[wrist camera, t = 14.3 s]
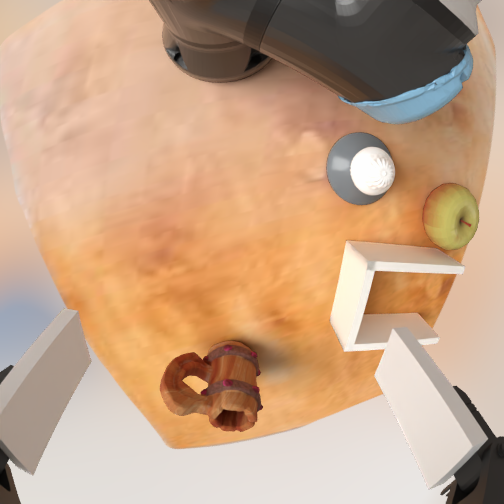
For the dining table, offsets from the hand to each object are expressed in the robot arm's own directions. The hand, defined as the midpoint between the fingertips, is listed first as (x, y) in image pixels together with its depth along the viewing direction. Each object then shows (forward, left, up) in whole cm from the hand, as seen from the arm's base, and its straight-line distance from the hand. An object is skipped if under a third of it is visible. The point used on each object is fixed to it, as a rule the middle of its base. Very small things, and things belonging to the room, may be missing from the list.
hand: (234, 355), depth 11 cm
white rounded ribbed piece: (-7, +16, -28) cm, 33 cm away
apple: (-3, +31, -29) cm, 42 cm away
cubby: (+10, +24, -29) cm, 39 cm away
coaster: (-7, +16, -29) cm, 34 cm away
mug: (+23, -2, -29) cm, 37 cm away
